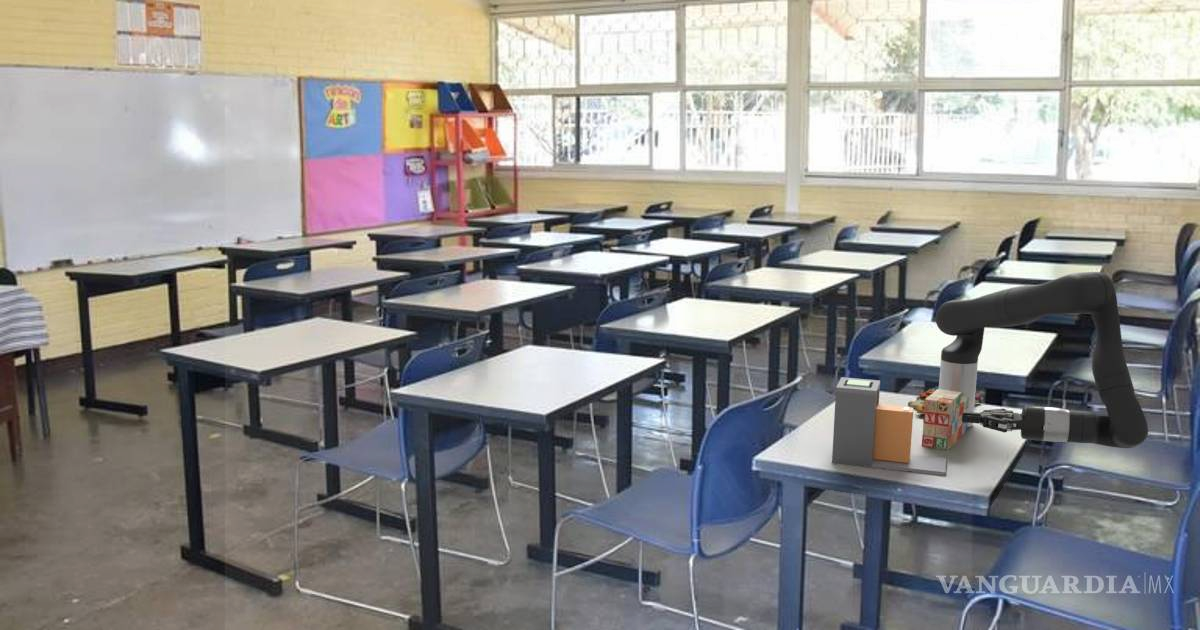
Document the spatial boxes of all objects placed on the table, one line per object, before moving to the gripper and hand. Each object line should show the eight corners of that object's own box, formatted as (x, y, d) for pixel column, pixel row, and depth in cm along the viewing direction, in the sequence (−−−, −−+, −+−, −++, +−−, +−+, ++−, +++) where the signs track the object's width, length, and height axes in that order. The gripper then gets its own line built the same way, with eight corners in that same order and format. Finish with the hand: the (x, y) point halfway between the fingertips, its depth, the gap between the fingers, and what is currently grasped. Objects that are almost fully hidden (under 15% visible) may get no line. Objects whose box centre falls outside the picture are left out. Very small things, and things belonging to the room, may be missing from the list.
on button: (847, 399, 244) (848, 379, 243) (869, 402, 242) (870, 381, 241) (845, 404, 239) (846, 383, 238) (867, 407, 238) (868, 385, 237)
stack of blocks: (942, 427, 272) (946, 381, 270) (967, 431, 268) (970, 384, 266) (921, 446, 254) (924, 398, 252) (947, 451, 250) (951, 401, 248)
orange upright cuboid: (874, 453, 243) (877, 403, 241) (910, 457, 241) (913, 406, 239) (873, 459, 239) (876, 408, 237) (909, 463, 237) (912, 411, 235)
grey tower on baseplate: (837, 449, 250) (841, 377, 247) (946, 461, 241) (951, 386, 238) (831, 462, 239) (836, 387, 236) (945, 475, 231) (951, 397, 228)
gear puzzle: (951, 422, 275) (952, 408, 274) (892, 414, 284) (893, 399, 283) (985, 399, 299) (985, 385, 299) (929, 392, 309) (930, 378, 308)
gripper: (1044, 400, 233) (963, 394, 239) (1048, 414, 221) (963, 406, 226) (1041, 432, 234) (961, 425, 240) (1046, 448, 222) (960, 440, 228)
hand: (962, 416), depth 233 cm, fingers closed
